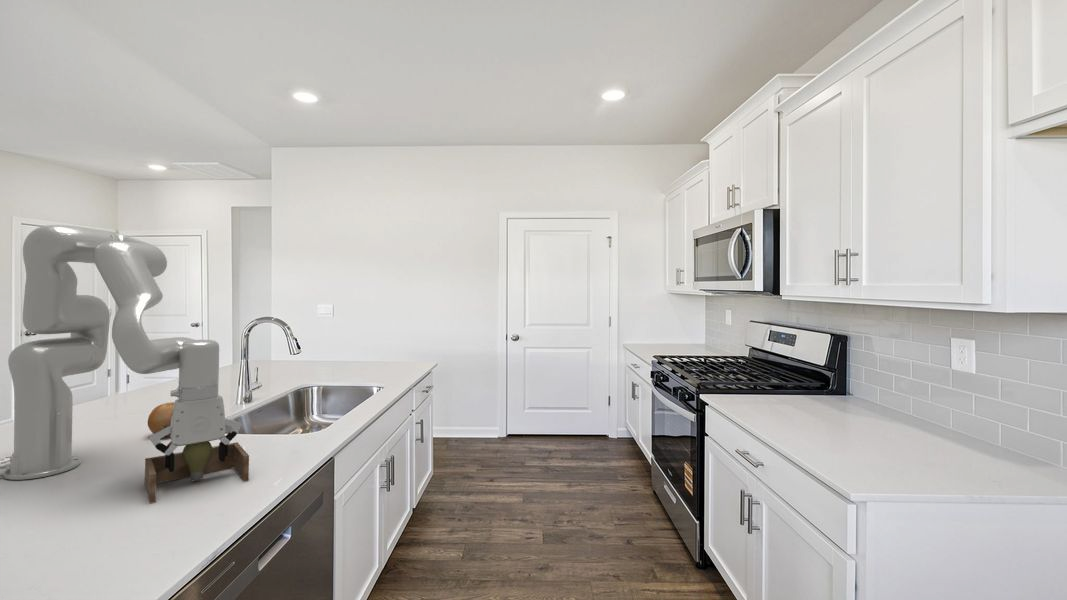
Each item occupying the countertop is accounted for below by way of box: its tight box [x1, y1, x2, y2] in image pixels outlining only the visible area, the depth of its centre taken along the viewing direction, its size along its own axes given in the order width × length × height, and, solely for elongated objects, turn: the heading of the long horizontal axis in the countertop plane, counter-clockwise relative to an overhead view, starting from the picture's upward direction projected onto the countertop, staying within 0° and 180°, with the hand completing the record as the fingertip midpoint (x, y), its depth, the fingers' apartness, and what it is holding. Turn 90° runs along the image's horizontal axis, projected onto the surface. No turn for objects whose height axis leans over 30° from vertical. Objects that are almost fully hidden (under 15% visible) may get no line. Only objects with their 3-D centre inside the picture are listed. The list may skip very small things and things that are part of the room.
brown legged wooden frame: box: [144, 441, 250, 504], centre depth 105 cm, size 18×12×6 cm, turn 135°
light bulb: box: [182, 441, 213, 483], centre depth 106 cm, size 6×6×10 cm
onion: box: [147, 401, 175, 437], centre depth 136 cm, size 10×10×10 cm
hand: (197, 464), depth 106 cm, fingers open, 9 cm apart
